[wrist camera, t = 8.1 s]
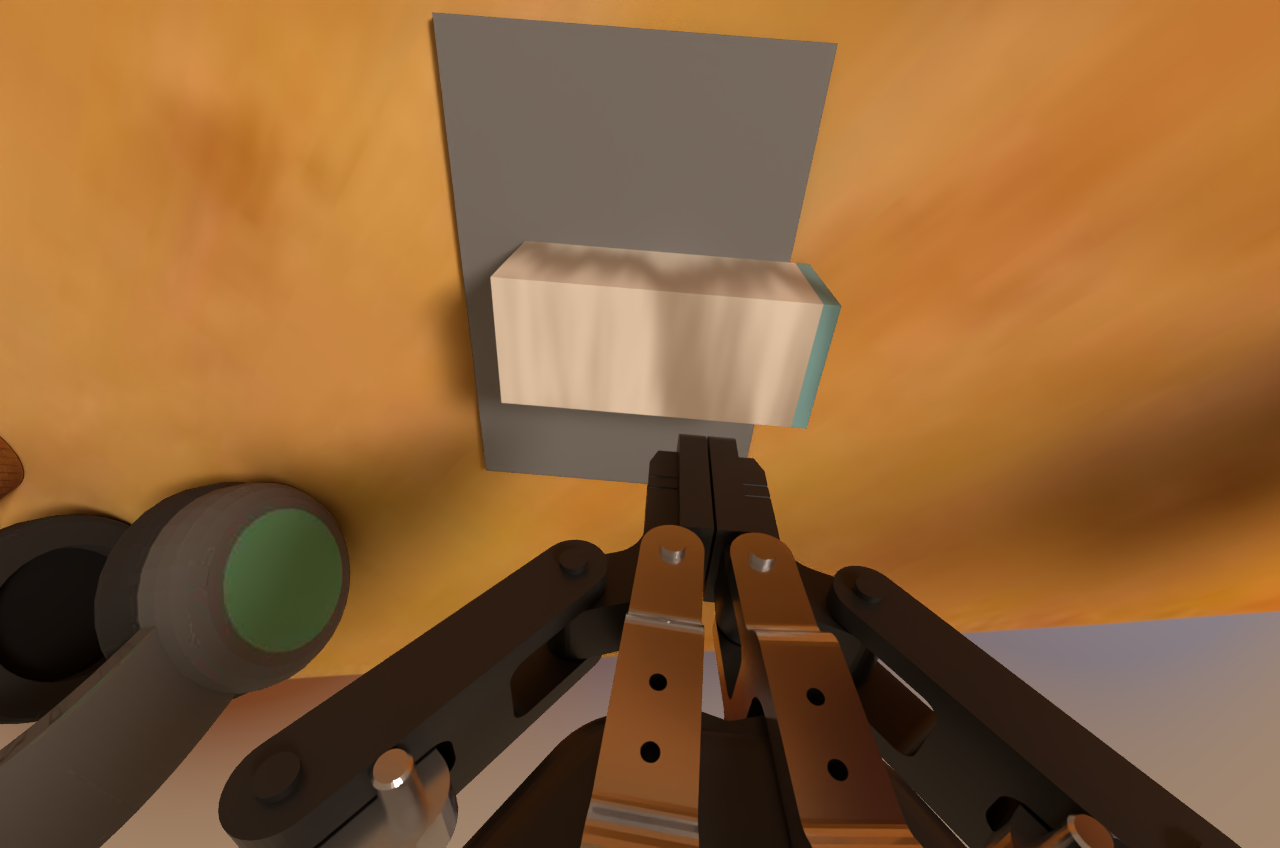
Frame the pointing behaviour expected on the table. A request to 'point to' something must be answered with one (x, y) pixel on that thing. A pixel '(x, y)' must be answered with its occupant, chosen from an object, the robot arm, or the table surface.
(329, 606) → the headphones
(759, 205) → the mat
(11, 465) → the disposable coffee cup
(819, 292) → the cream block
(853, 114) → the table surface
